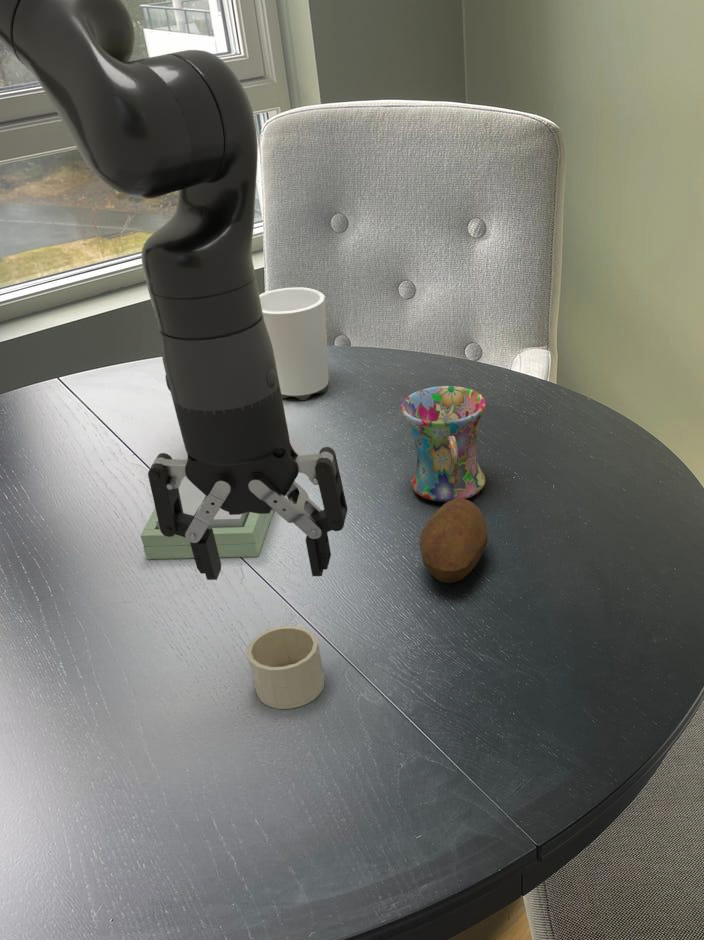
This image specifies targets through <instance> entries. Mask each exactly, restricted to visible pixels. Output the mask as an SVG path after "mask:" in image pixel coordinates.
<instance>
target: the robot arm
mask: <svg viewBox="0 0 704 940" xmlns="http://www.w3.org/2000/svg"><path fill="white" fill-rule="evenodd" d="M135 36H136V35H135V27H134V23H133V19H132V16H131V14H130V12H129V10H128V8H127V6H126V4H125V3H124V2H123V0H0V44H1V45H3V46H4V47H5V49H6V50H7V51H8V52H10V54H12V56H13V57H15V58H16V59H17V60H18V61H19V62H20V63H21V64H22V65H23V66H24V67H25V68H26V69H27V70H28V71H29V72H30V73H32V75H33V76H34V77H35V79H36V80H37V82H38V83H39V85H40V86H41V88H42V89H43V91H44V93H45V95H46V96H47V99H48V100H49V101H50V104H51V105H52V107H53V109H54V110H55V111H56V113H57V115H58V116H59V118H60V120H61V121H62V123H63V125H64V127H65V128H66V131H67V132H68V134H69V136H70V138H71V140H72V141H73V143H74V145H75V147H76V148H77V149H76V150H77V151H78V152H79V154H80V156H81V158H82V159H83V161H84V163H86V165H87V167H88V168H89V169H90V170H91V172H92V173H93V174H94V175H95V176H96V177H97V178H98V180H100V181H101V182H102V183H104V184H105V185H107V186H108V187H109V188H110V189H113V190H114V191H117V192H118V193H120V194H122V195H125V196H128V197H131V198H134V199H141V200H148V199H155V198H159V197H163V196H167V195H170V194H173V193H175V192H178V194H177V205H176V209H175V211H174V213H173V215H172V217H171V218H170V219H169V220H168V221H167V222H166V223H165V224H164V225H163V226H162V227H160V228H159V229H157V230H156V231H155V232H154V233H153V234H151V235H150V236H148V238H147V239H146V240H145V242H144V244H143V246H142V249H141V264H142V270H143V274H144V275H143V276H144V279H145V283H146V286H147V290H148V294H149V299H150V302H151V306H152V310H153V315H154V317H155V321H156V326H157V327H158V329H157V330H158V335H159V341H160V349H161V350H160V351H161V358H162V363H163V368H164V372H165V382H166V386H167V389H168V391H169V392H170V396H171V399H172V404H173V407H174V410H175V414H176V418H177V422H178V427H179V431H180V433H181V437H182V442H183V445H184V450H185V451H186V454H187V459H177V458H176V459H174V458H172V456H171V455H170V454H169V453H165V452H160V453H158V455H157V456H156V458H155V459H154V460H153V462H152V464H151V466H150V468H149V470H148V472H147V476H148V481H149V486H150V490H151V495H152V499H153V504H154V509H156V513H157V518H158V522H159V527H160V531H161V533H162V534H163V535H165V536H167V537H172V536H174V535H179V536H182V537H185V538H186V539H187V540H188V541H189V542H190V544H191V548H192V552H193V555H194V558H193V559H194V562H195V566H196V569H197V571H198V572H199V573H200V574H201V575H202V574H204V575H205V578H206V580H207V581H217V580H218V578H219V575H220V573H221V571H222V562H221V557H219V553H218V549H217V545H216V541H215V537H214V533H213V529H212V528H208V526H209V525H210V524H211V522H212V520H213V519H214V517H215V515H216V514H217V512H218V511H219V509H220V508H221V509H222V510H224V511H227V512H229V515H240V514H243V513H247V512H253V513H258V514H270V511H271V510H273V509H274V512H275V513H277V514H278V515H279V516H280V517H281V518H282V519H283V520H285V521H286V522H287V523H289V524H294V525H295V526H296V527H297V528H298V529H299V530H300V531H301V532H303V533H304V534H305V535H306V537H305V544H306V550H307V556H308V560H309V566H310V571H311V576H312V577H323V573H324V570H325V571H326V570H328V568H329V564H330V560H331V556H332V553H331V547H330V540H329V535H328V533H329V532H331V531H334V532H340V531H342V530H343V528H344V527H345V523H346V522H345V521H346V518H347V514H348V505H347V500H346V495H345V491H344V486H343V482H342V478H341V473H340V468H339V464H338V459H337V455H336V451H335V450H334V449H333V448H332V447H329V446H323V447H322V448H321V449H319V452H318V453H316V454H315V453H314V454H304V455H303V454H302V455H298V453H297V452H296V451H295V450H294V448H293V445H292V443H291V440H290V435H289V434H290V433H289V428H288V423H287V418H286V412H285V407H284V400H283V398H282V395H281V390H280V385H279V379H278V373H277V368H276V363H275V357H274V352H273V347H272V343H271V340H270V337H269V334H268V331H267V328H266V325H265V322H264V317H263V313H262V307H261V302H260V296H259V295H260V292H259V287H258V280H257V276H256V271H255V267H254V262H253V254H252V253H253V252H252V251H253V250H252V248H253V238H254V226H255V213H256V212H255V208H256V194H257V193H256V192H257V174H258V160H259V159H258V157H259V155H258V153H259V152H258V149H259V145H258V133H257V123H256V120H255V116H254V111H253V108H252V105H251V102H250V100H249V97H248V94H247V92H246V90H245V88H244V86H243V84H242V83H241V81H240V79H239V77H238V76H237V75H236V74H235V72H234V71H233V70H232V68H231V67H230V66H229V65H228V63H226V62H225V61H224V60H223V59H222V58H220V57H219V56H217V55H215V54H213V53H212V52H209V51H206V50H199V49H187V50H181V51H176V52H171V53H166V54H161V55H155V56H149V57H145V58H141V59H135V60H131V59H132V57H133V54H134V53H133V52H134V48H135V41H136V38H135ZM299 473H302V474H303V475H306V476H307V478H308V479H309V482H311V483H312V485H314V486H318V489H319V493H320V497H321V501H322V505H323V510H322V509H321V508H320V507H319V506H318V505H317V504H316V503H315V502H314V501H313V500H311V499H310V497H309V494H308V492H307V491H306V489H304V487H302V486H301V485H300V484H299V483H298V482H297V481H296V480H297V477H298V476H299ZM184 477H186V479H189V481H190V482H191V483H193V484H194V485H195V486H196V487H197V488H198V489H199V490H200V491H201V492H202V493H204V494H205V497H204V499H203V500H202V502H201V504H200V506H199V507H198V509H197V511H196V512H195V514H194V516H193V515H189V514H185V513H183V508H182V504H181V499H180V494H179V489H178V488H179V486H180V484H181V482H182V480H183V479H184Z"/></svg>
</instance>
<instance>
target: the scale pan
mask: <svg viewBox="0 0 704 940" xmlns="http://www.w3.org/2000/svg"><path fill="white" fill-rule="evenodd" d="M178 489H179V494H180V499H181V504H182V508H183V513H185V514H189V515H193V516H194V514H195V512H196V511H197V509H198V507H199V506H200V504H201V502H202V500H203V499H204V497H205V494H204V493H202V492H201V491H200V490H199V489H198V488H197V487H196V486H195V485H194V484H193V483H191V482H190V481H189V479H188V478H183V480H182V482H181V484H180V486H179V488H178ZM248 514H249V512H247V513H243V514H240V515H229V512H227V511H224V510H222V509H221V508H220V509H219V511H218V512H217V514H216V515H215V517H214V519H213V520H212V522H211V524H210V525H209V526H208V528H231V527H244V524H245V522H246V519H247V516H248ZM156 523H157V527H158V529H160V527H159V522H158V518H157V519H156Z"/></svg>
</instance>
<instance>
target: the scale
mask: <svg viewBox="0 0 704 940" xmlns="http://www.w3.org/2000/svg"><path fill="white" fill-rule="evenodd" d="M274 512H275V510H274V509H273V510H271V511H270V514H258V513H253V512H249V514H248V516H247V519H246V522H245V524H244V527H231V528H212V529H213V533H214V537H215V541H216V545H217V549H218V553H219V557H220V558H254V557H259V555H260V553H261V549H262V546H263V544H264V542H265V541H264V540H265V538H266V535H267V532H268V529H269V526H270V524H271V521H272V518H273V515H274ZM156 519H157V513H156V509H155V508H154V509H153V511H152V513H151V514H150V517H149V519H148V521H147V522H146V524H145V526H144V528H143V530H142V532H141V533H140V539H141V543H142V547H143V551H144V555H145V558H146V560H173V559H174V560H176V559H177V560H178V559H195V558H194V555H193V552H192V548H191V544H190V542H189V541H188V540H187V539H186V538H185V537H182V536H179V535H174V536H172V537H167V536H165V535H163V534H162V533H161V531H160V529H158V527H157V523H156Z"/></svg>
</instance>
